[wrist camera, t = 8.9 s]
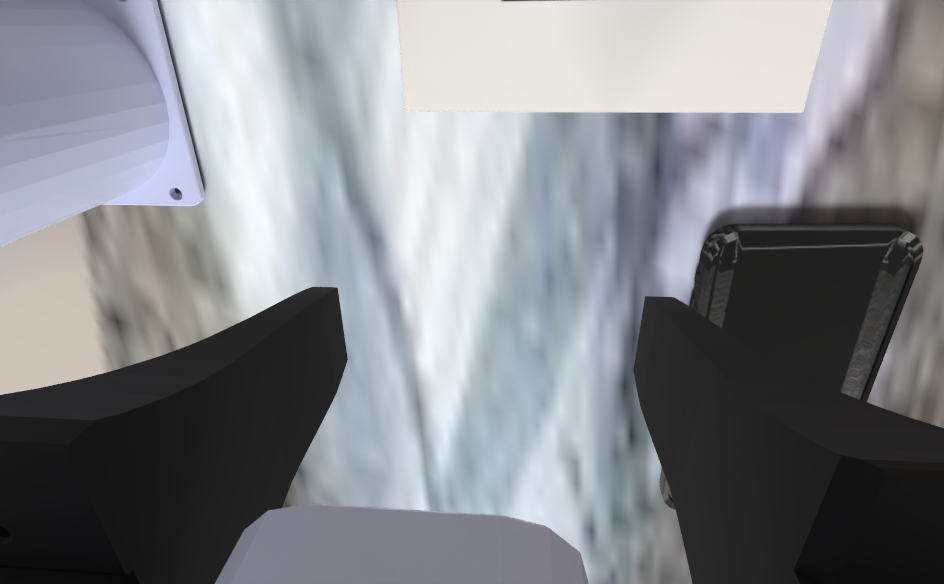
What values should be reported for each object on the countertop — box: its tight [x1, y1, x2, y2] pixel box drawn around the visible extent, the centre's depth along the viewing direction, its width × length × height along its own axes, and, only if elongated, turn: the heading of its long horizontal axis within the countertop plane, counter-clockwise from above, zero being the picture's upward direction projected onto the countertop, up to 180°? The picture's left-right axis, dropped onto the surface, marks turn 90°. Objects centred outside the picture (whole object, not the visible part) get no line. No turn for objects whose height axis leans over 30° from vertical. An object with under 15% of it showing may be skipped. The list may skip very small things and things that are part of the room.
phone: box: [660, 224, 923, 510], centre depth 23 cm, size 8×1×15 cm
